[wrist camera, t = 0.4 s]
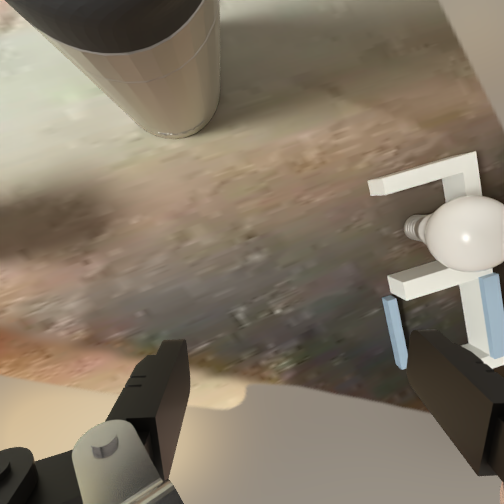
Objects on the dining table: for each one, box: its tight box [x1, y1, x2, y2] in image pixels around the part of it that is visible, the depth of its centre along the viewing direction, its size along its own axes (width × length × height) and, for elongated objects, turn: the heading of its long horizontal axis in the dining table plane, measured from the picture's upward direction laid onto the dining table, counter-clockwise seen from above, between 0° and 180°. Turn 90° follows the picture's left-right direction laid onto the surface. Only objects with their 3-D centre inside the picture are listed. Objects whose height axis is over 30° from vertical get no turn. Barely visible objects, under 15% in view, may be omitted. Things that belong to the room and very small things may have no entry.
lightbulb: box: [404, 195, 504, 272], centre depth 28 cm, size 6×6×11 cm
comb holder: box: [368, 151, 504, 370], centre depth 33 cm, size 23×11×4 cm, turn 16°
